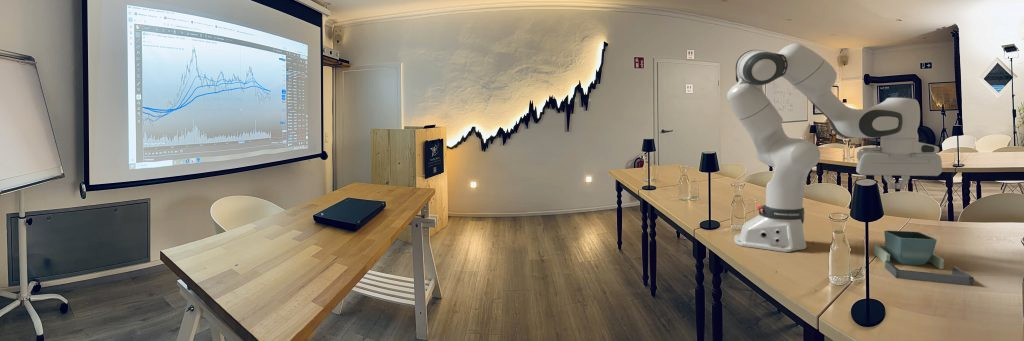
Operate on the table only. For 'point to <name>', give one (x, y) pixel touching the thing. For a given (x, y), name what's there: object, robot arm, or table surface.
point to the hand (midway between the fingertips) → (895, 188)
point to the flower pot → (909, 247)
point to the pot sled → (885, 256)
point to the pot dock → (932, 275)
